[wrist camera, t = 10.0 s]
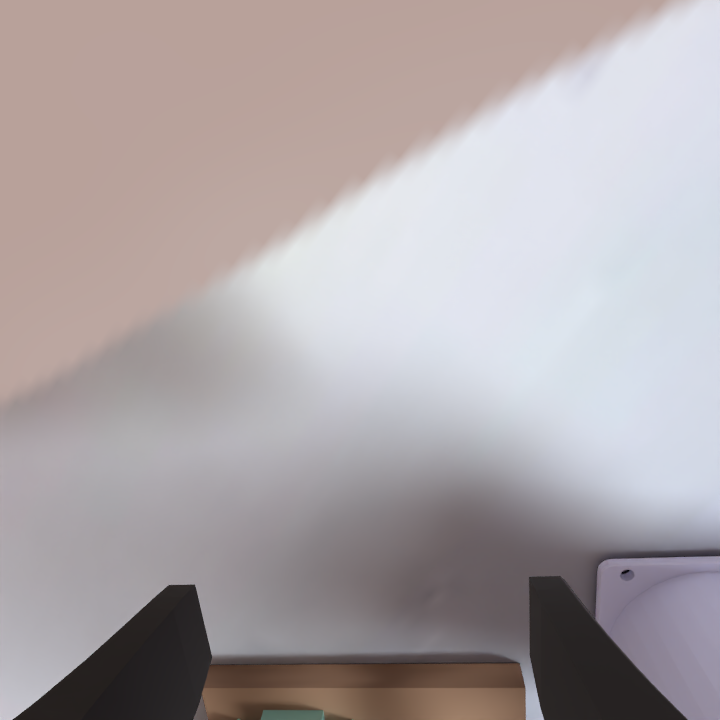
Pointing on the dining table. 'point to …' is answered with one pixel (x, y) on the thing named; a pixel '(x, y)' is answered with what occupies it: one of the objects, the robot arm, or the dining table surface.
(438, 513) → the dining table surface
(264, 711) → the teal gear
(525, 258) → the dining table surface
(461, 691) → the gear board
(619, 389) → the dining table surface
